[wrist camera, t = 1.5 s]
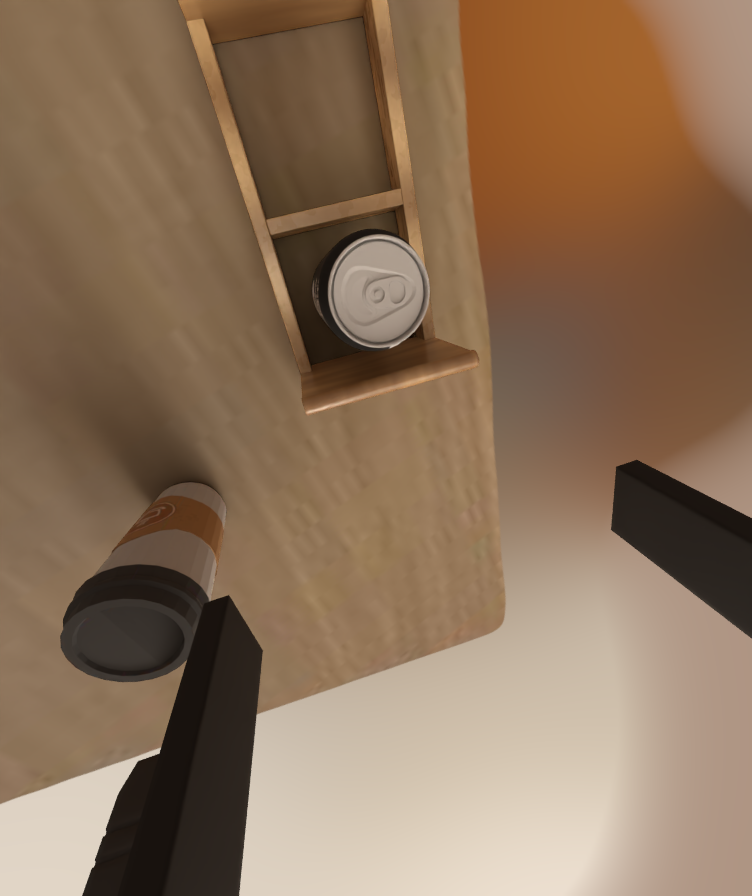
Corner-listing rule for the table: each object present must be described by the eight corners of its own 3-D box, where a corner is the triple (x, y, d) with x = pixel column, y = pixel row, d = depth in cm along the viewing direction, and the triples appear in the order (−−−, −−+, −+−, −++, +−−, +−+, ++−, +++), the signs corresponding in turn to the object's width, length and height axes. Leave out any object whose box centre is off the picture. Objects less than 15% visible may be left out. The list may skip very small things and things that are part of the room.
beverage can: (303, 253, 28) (308, 233, 18) (383, 242, 29) (433, 216, 18) (320, 338, 31) (332, 364, 20) (392, 325, 32) (440, 345, 21)
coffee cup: (208, 456, 33) (150, 570, 20) (253, 520, 37) (229, 652, 24) (126, 492, 33) (11, 631, 20) (179, 553, 37) (114, 704, 24)
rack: (189, 23, 22) (109, -175, 13) (373, -10, 23) (427, -215, 14) (304, 379, 32) (307, 417, 23) (427, 345, 33) (479, 368, 24)
